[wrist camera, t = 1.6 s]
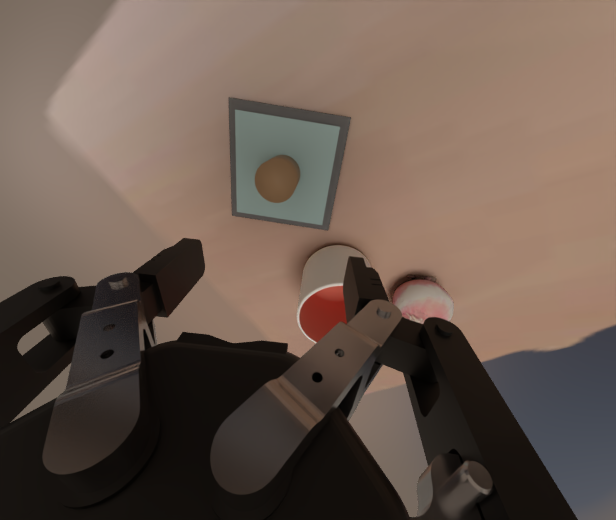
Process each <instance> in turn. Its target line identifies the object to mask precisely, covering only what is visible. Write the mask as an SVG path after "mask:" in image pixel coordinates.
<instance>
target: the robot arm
mask: <svg viewBox="0 0 616 520" xmlns="http://www.w3.org/2000/svg"><path fill="white" fill-rule="evenodd" d="M204 270H205V263H204V256H203V250H202V244H201V241H200V240H197V239H188V238H183V239H182V240H181V241H179V242H178V243H177V244H175V245H174V246H172V247H169V248H167V249H164V250H163V251H161V252H160V253H158V254H157V255H156V256H154V257H153V258H152V259H151V260H149V261H148V262H146V263H145V264H144V265H142V266H141V267H140V268H138V269H137V270H136V271H134V272H133V273H130V272H129V273H128V272H124V273H117V274H114V275H110V276H108V277H106V278H104V279H102V280H101V281H99V282H98V283H97V285H96V286H87V287H78V286H77V283H76V282H75V279H73V278H72V277H67V276H63V277H62V276H60V277H53V278H49V279H45V280H42V281H39V282H37V283H35V284H32V285H30V286H29V287H27V288H25V289H24V290H22V291H20V292H18V293H16V294H15V295H13V296H11V297H9V298H7V299H6V300H4V301H2V302H1V303H0V520H578V519H577V518H576V516H575V514H574V513H573V511H572V509H571V508H570V506H569V505H568V503H567V501H566V500H565V498H564V497H563V495H562V493H561V492H560V490H559V489H558V487H557V485H556V484H555V482H554V480H553V479H552V477H551V476H550V474H549V472H548V471H547V469H546V467H545V466H544V464H543V463H542V461H541V459H540V458H539V456H538V454H537V453H536V451H535V450H534V448H533V446H532V445H531V443H530V442H529V440H528V438H527V437H526V435H525V433H524V432H523V430H522V429H521V427H520V425H519V424H518V422H517V420H516V419H515V418H514V416H513V414H512V412H511V411H510V409H509V407H508V406H507V404H506V403H505V401H504V399H503V398H502V396H501V394H500V393H499V391H498V390H497V388H496V386H495V385H494V383H493V382H492V380H491V378H490V377H489V375H488V374H487V372H486V370H485V369H484V367H483V365H482V364H481V362H480V360H479V359H478V357H477V356H476V354H475V352H474V351H473V349H472V347H471V346H470V344H469V343H468V341H467V339H466V338H465V336H464V335H463V333H462V332H461V330H460V329H459V328H458V327H457V326H455V325H454V324H453V323H451V322H449V321H447V320H445V319H442V318H438V317H429V318H427V319H426V320H425V321H424V323H423V324H421V323H418V322H415V321H412V320H409V319H406V318H404V317H402V313H401V311H400V309H399V308H398V307H397V306H395V305H394V304H392V303H390V302H389V300H388V297H387V295H386V292H385V290H384V287H383V286H382V285H383V284H382V282H381V281H380V280H381V279H380V277H379V274H378V273H377V272H376V271H375V270H374V269H373V268H371V267H366V264H365V261H364V258H362V257H353V256H349V258H348V262H347V266H346V271H345V276H344V281H343V296H344V304H345V312H346V320H347V324H346V323H344V322H342V321H341V322H339V323H338V324H337V325H336V326H334V327H333V328H332V329H331V330H330V331H329V332H328V333H327V334H326V335H325V336H324V337H323V338H321V339H320V340H319V341H318V342H317V343H316V344H315V345H314V346H313V347H312V348H311V349H310V350H309V351H307V352H306V353H305V354H304V355H303V356H302V357H301V358H299V357H298V356H296V355H294V354H292V353H289V352H287V349H288V343H279V342H270V341H254V342H244V343H230V342H227V341H224V340H221V339H219V338H216V337H213V336H210V335H206V334H196V333H187V332H182V334H181V335H180V337H179V338H178V339H177V340H176V341H170V342H165V343H162V344H158V345H157V339H156V332H155V324H154V321H153V319H154V318H155V317H156V316H159V317H168V316H169V315H170V314H171V313H172V312H173V310H174V309H175V308H176V307H177V306H178V304H179V303H180V302H181V301H182V300H183V298H184V297H185V296H186V295H187V294H188V292H189V291H190V290H191V289H192V288H193V286H194V285H195V284H196V283H197V281H199V279H200V278H201V277H202V276H203V274H204ZM41 322H43V324H44V325H45V327H46V328H47V330H48V331H49V333H50V334H49V335H48V336H47V337H45V338H44V339H43V340H42V341H40V342H39V343H38V344H37V345H35V346H34V347H33V348H32V349H30V350H29V351H28V352H27V353H25V354H24V355H23V356H22V355H21V354H20V353H19V351H18V349H17V344H18V342H19V340H20V339H21V338H22V336H24V335H25V334H26V333H28V332H29V331H30V330H32V329H33V328H35V327H36V326H37V325H39V324H40V323H41ZM70 363H71V367H70V371H69V376H68V381H67V386H66V389H65V391H64V392H63V393H62V394H60V395H59V396H58V397H57V398H55V399H53V400H52V401H50V402H48V403H46V404H44V405H42V406H40V407H39V408H37V409H35V410H33V411H31V412H30V413H27V414H26V415H24V416H22V417H20V418H18V419H16V420H15V421H13V422H11V421H12V420H13V419H14V418H15V417H16V416H17V415H18V414H19V413H20V412H21V411H22V410H23V409H24V408H25V407H26V406H27V405H28V404H29V403H30V402H31V401H32V400H33V399H34V398H35V397H36V396H38V395H39V394H40V393H41V392H42V390H44V388H46V386H47V385H49V384H50V383H51V382H52V380H54V379H55V378H56V377H57V376H58V375H59V374H60V373H61V372H62V371H63V370H64V369H65V368H66V367H67V366H68V365H69V364H70ZM383 365H386V366H388V367H391V368H393V369H396V370H398V371H401V372H403V374H404V377H405V381H406V385H407V388H408V392H409V396H410V400H411V403H412V407H413V411H414V415H415V418H416V422H417V426H418V430H419V433H420V437H421V441H422V445H423V448H424V452H425V456H426V460H427V463H428V467H427V468H426V469H425V471H424V472H423V473H422V474H421V476H420V477H419V480H418V483H417V497H418V512H417V516H416V517H409V515H408V512H407V510H406V508H405V506H404V504H403V502H402V500H401V498H400V496H399V495H398V493H397V491H396V490H395V489H394V487H393V485H392V484H391V483H390V481H389V480H388V478H387V477H386V475H385V474H384V473H383V471H382V470H381V468H380V467H379V465H378V464H377V462H376V461H375V459H374V458H373V456H372V455H371V453H370V452H369V451H368V449H367V448H366V446H365V445H364V443H363V442H362V440H361V439H360V437H359V436H358V435H357V433H356V432H355V430H354V429H353V427H352V426H351V424H350V423H349V420H350V418H351V417H352V415H353V413H354V411H355V410H356V408H357V406H358V404H359V402H360V400H361V398H362V396H363V395H364V393H365V391H366V390H367V388H368V387H369V385H370V384H371V382H372V381H373V379H374V378H375V376H376V375H377V373H378V372H379V370H380V369H381V367H382V366H383ZM10 422H11V423H10Z"/></svg>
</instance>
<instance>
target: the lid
mask: <svg viewBox="0 0 616 520" xmlns="http://www.w3.org/2000/svg"><path fill="white" fill-rule="evenodd" d="M339 130H340V127H338V126H332V125H326V124H320V123H314V122H308V121H302V120H296V119H290V118H284V117H278V116H271V115H265V114H259V113H253V112H247V111H241V110H235V136H236V194H237V212H241V213H247V214H254V215H260V216H267V217H273V218H279V219H286V220H292V221H298V222H305V223H311V224H318V225H322V223H323V217H324V212H325V207H326V201H327V196H328V190H329V185H330V179H331V174H332V169H333V163H334V158H335V152H336V147H337V141H338V136H339Z"/></svg>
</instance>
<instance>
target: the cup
mask: <svg viewBox="0 0 616 520" xmlns="http://www.w3.org/2000/svg"><path fill="white" fill-rule="evenodd" d="M349 256H353V257H362V258H364V261H365V264H366V267H371V265H370V263H369V261H368V260H367V258H366V257H365V256H364V255H363V254H362V253H361V252H359V251H358V250H356V249H354V248H351V247H348V246H343V245H333V246H328V247H325V248H322V249H320V250H318V251H317V252H315V253H314V254H313V255H312V256H311V257H310V258H309V259H308V260H307V262H306V264H305V266H304V269H303V275H302V282H301V289H300V295H299V302H298V309H297V322H298V325H299V327H300V329H301V331H302V332H303V334H304V335H305V336H306V337H307V338H309V339H310V340H311V341H313V342H315V343H317V342H318V341H319V340H320V339H321V338H323V337H324V336H325V335H326V334H327V333H328V332H329V331H330V330H331V329H332V328H333V327H334V326H336V325H337V324H338V323H339V322H341V321H342V322H344V323H346V324H347V320H346V312H345V304H344V296H343V281H344V276H345V271H346V266H347V262H348V258H349Z"/></svg>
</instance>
